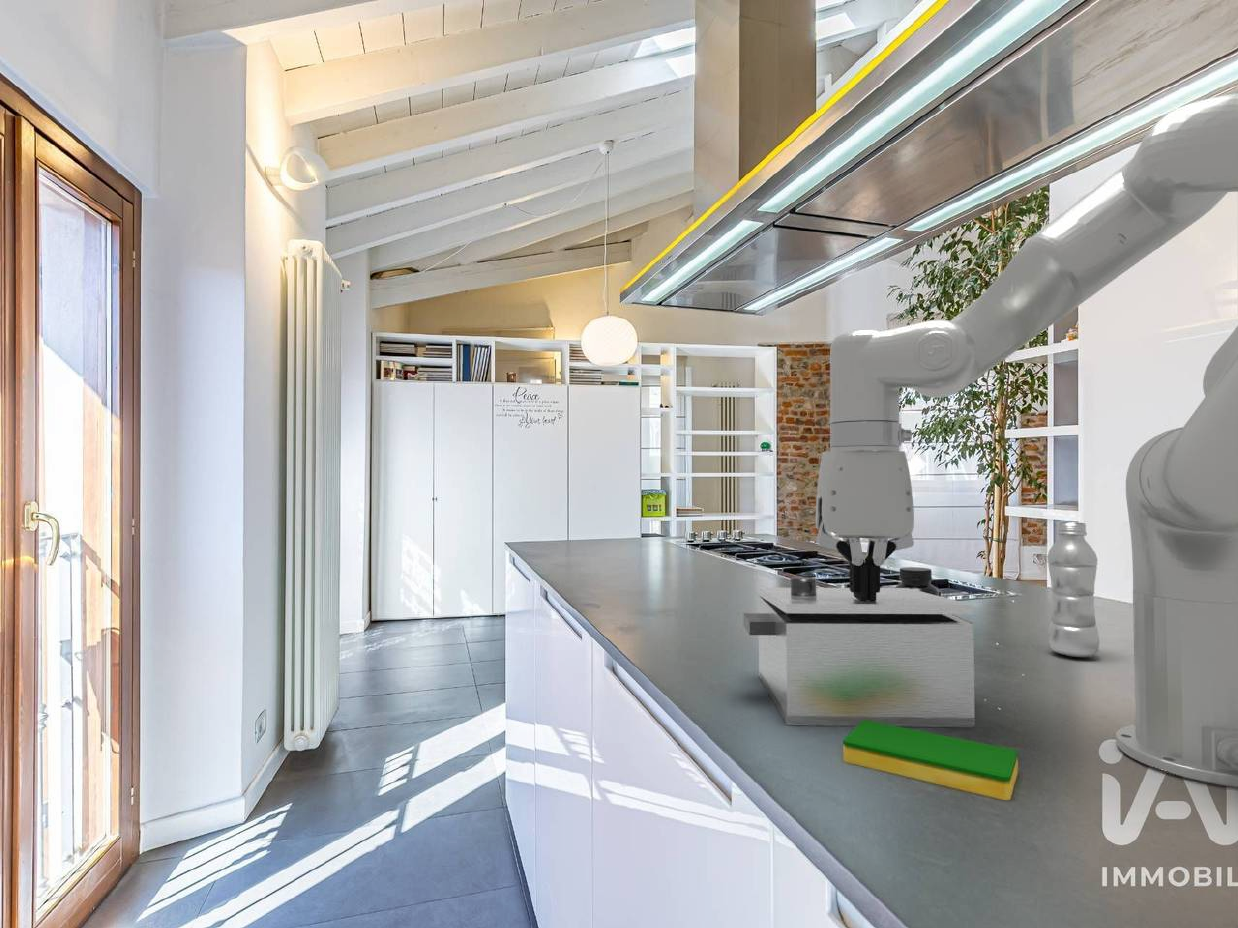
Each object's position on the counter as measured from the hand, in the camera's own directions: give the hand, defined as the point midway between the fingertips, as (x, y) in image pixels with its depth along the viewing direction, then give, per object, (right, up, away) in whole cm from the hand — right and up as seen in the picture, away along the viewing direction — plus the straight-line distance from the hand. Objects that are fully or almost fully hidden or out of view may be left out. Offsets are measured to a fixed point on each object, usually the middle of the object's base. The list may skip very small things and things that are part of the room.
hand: (864, 598), depth 78 cm
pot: (0, -13, +4) cm, 14 cm away
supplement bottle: (+20, -14, +33) cm, 41 cm away
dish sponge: (+1, -13, -15) cm, 20 cm away
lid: (0, -2, +5) cm, 5 cm away
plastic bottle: (+40, -14, +24) cm, 49 cm away
